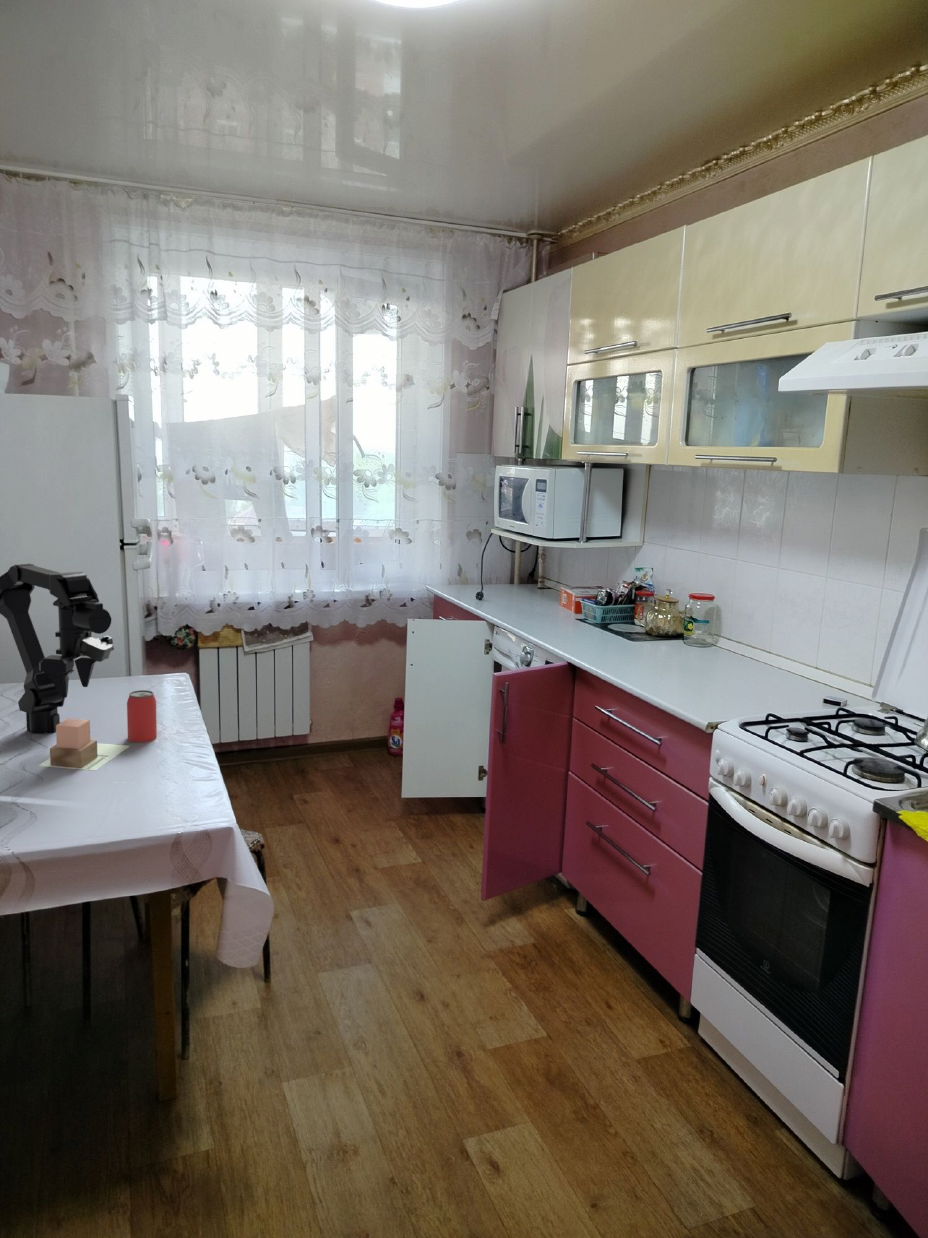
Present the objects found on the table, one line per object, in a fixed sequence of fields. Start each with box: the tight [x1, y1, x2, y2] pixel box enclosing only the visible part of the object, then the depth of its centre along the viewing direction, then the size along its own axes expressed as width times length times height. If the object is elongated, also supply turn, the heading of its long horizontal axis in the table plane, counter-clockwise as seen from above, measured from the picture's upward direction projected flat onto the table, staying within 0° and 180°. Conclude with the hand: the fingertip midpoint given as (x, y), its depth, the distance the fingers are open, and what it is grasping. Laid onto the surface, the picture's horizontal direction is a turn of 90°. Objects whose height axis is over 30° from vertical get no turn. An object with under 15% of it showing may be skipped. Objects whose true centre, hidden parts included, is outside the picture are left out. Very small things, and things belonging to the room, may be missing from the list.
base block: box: [49, 739, 98, 768], centre depth 188 cm, size 7×7×4 cm
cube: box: [55, 718, 91, 749], centre depth 187 cm, size 5×5×5 cm
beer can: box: [126, 689, 158, 743], centre depth 205 cm, size 7×7×12 cm
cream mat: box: [38, 742, 130, 771], centre depth 192 cm, size 13×16×1 cm
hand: (75, 692), depth 198 cm, fingers open, 9 cm apart
